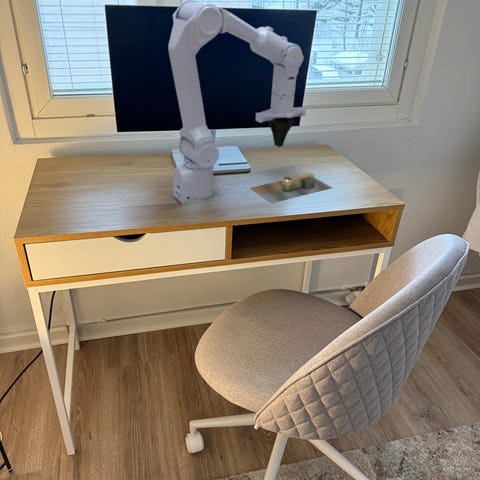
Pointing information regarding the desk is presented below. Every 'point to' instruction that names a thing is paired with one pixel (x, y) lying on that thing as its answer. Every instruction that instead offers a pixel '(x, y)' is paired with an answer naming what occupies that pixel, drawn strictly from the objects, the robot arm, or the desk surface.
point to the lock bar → (295, 181)
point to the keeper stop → (309, 183)
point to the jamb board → (276, 194)
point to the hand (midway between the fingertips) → (278, 145)
